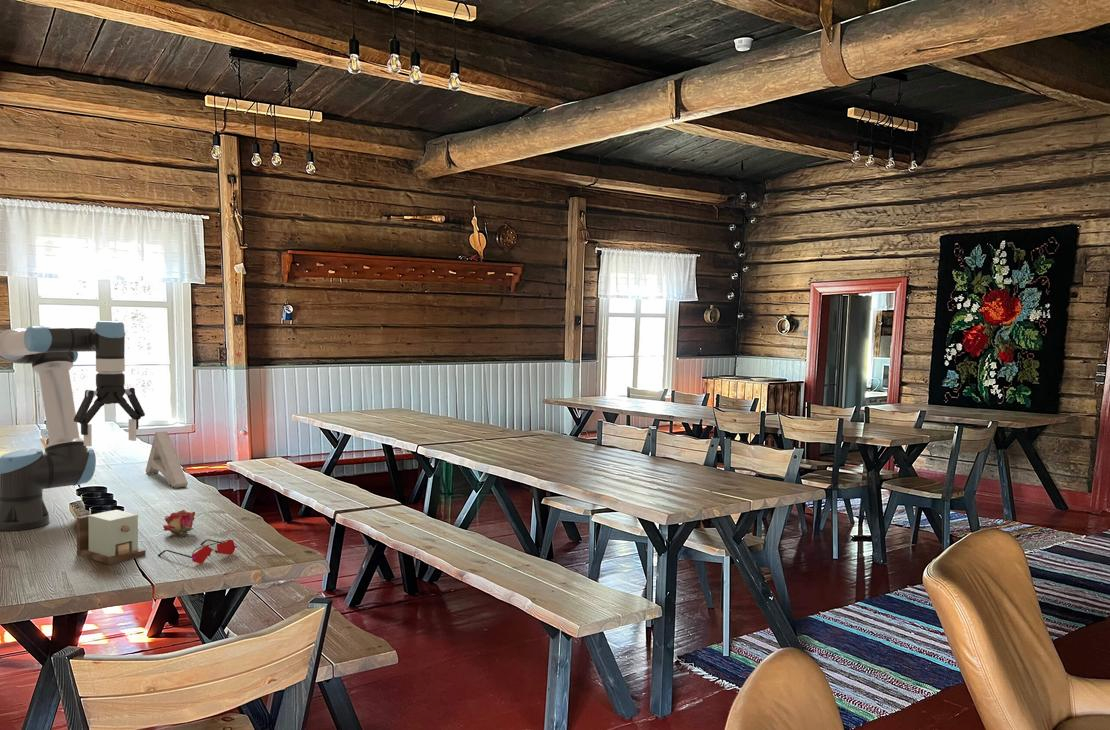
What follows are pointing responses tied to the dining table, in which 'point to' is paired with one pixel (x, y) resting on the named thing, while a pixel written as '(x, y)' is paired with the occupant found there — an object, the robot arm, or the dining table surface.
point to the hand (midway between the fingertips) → (110, 443)
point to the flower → (180, 522)
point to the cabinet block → (112, 531)
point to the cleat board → (83, 550)
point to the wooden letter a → (165, 461)
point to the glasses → (209, 550)
